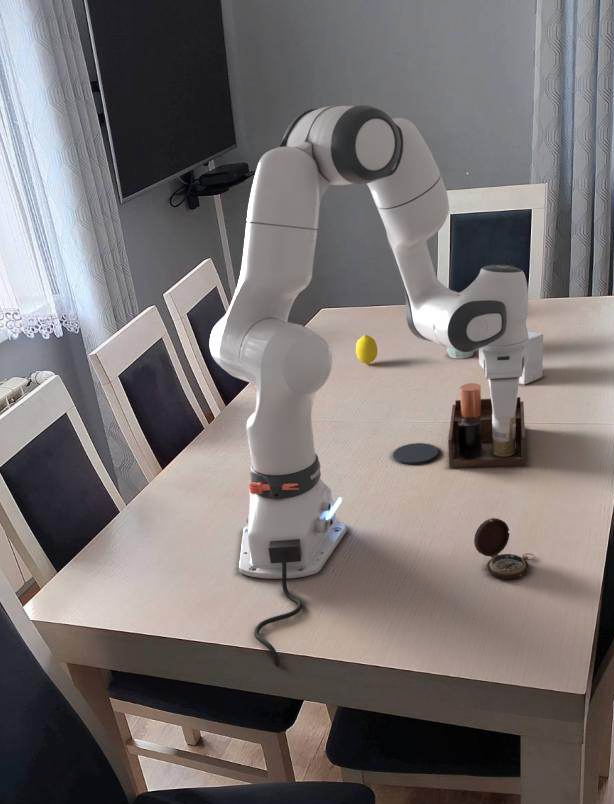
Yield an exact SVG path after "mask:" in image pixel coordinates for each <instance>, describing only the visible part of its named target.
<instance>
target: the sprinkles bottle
mask: <svg viewBox="0 0 614 804" xmlns="http://www.w3.org/2000/svg"><path fill="white" fill-rule="evenodd" d="M492 435H493V442H492V454H493V455H494V456H496V457H498V458H509V457H513V455H515V454H516V453H517V448H516V447H517V446H516V445H517V444H516V442H517V441H516V440H515V439H516V418H515V416H514V418H512V419H510V432H509V433H507V434H501V433H500V425H499V419H495V418H494V415H493V409H492Z"/></svg>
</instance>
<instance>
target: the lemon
mask: <svg viewBox="0 0 614 804" xmlns="http://www.w3.org/2000/svg"><path fill="white" fill-rule="evenodd" d="M355 355H356V358H357V359H358V361H360V362H361V363H363V364H365V365H366V366H369V365H370V364H371V363H372V362H374V361H375V360H376V358H377V355H378V346H377V342H376V340H375V339H374V338H373V337H372V336H369V335H367V334H364V335H363V336H361V337H360V338H359V339H357V341H356V344H355Z"/></svg>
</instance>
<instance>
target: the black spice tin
mask: <svg viewBox="0 0 614 804" xmlns="http://www.w3.org/2000/svg"><path fill="white" fill-rule="evenodd" d="M458 434H459V443H458V453H459V454H458V455H459V457H461V459H478V458H479V457H481V456H482V455H483V442H482V429H481V419H479V418H476V417H467V418H463V419H460V420H459V421H458Z"/></svg>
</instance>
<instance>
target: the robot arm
mask: <svg viewBox="0 0 614 804" xmlns="http://www.w3.org/2000/svg"><path fill="white" fill-rule="evenodd" d="M280 142H281V143H280V144H279V146H278V147H275V148H272V149H269V150H268V151H266V152H264V154H263V155H262V156H261V157H260V158H259V161H258V163H257V166H256V169H255V173H254V177H253V181H252V185H251V190H250V194H249V200H248V204H247V205H248V206H247V212H246V213H247V214H246V223H245V233H244V242H243V251H242V259H241V267H240V273H239V278H238V281H237V285H236V288H235V290H234V294H233V297H232V299H231V302H230V304H229V306H228V309H227V311H226V313H225V314H224V315H223V316H222V317H221V318H220V319H219V320H218V321H217V322H216V323H215V325H214V326H213V328H212V330H211V333H210V336H209V351H210V354H211V357H212V359H213V360H214V362H215V363H216V364H217V365H218V366H219V367H220V368H221V369H222V370H224V371H225V372H226V373H227V374H228V375H230V376H232V377H234V378H236V379H239V380H242V381H245V382H246V383H250V384H252V386H253V387H254V390H255V393H256V394H255V395H256V403H255V410H254V411H253V413H252V414H250V416H249V417H248V419H247V421H246V425H245V429H246V436H247V442H248V448H249V454H250V455H249V456H250V460H251V463H250V468H249V469H250V472H249V477H250V479H249V480H250V483H249V490H248V494H249V504H248V505H249V506H248V517H247V518H246V523H247V525H245V526H244V527H243V530H242V538H241V545H240V546H241V547H240V555H239V563H238V570H239V573H240V574H242V575H244V576H247V577H251V578H257V579H258V578H259V579H271V580H273V579H277V580H278V579H280V580H281V586H282V587H281V588H282V591H283V594H284V595H285V596H286V598H287V599H288V600H290V601H291V602H293V603H295V604H297V606H296V608H295V609H293V610H291V611H289V612H286V613H283V614H279V615H276V616H273V617H269V618H266V619H264V620H262V621H260V622H259V623H258V624H257V625H256V626H255V629H254V631H253V635H254V638H255V639H256V640H257V641H258V642H259V643H261V644H262V645H263V646H265V647H266V648H267V649H268V651H269V652H270V653H271V655H272V659H273V662H274V665H275V667H279V666H280V665H281V662H280V658H279V654H278V652H277V651H276V649H275V647H274V646H273V645H272V644H271V643H270V642H269V641H268V640H267V639H265V638H263V636H261V635H260V631H261V629H262V628H263V627H265V626H267V625H269V624H271V623H275V622H278V621H282V620H286V619H289V618H291V617H294V616H296V615H297V614H299V613H300V612H301V610H302V609H303V605H304V604H303V601H302V600H300V599H299V598H297V597H296V596H293V595H292V594H291V593H290V592H289V589H288V583H287V582H288V580H287V579H297V578H304V577H309V576H312V575H315V574H318V573H319V572H320V571H321V570H322V568H323V567H324V565H325V564H326V562H327V560H329V558H330V557H331V555H332V553H333V552H334V550H335V549H336V547H337V546H338V544H339V543H340V542H341V540H342V539H343V537H344V536H345V535H346V533H347V527H346V525H345V524H344V522H343V523H342V522H340V521H337V516H336V510H337V509H338V507H339V506H340V504H342V497H340V496H339V497H338V499H337V500H336V502H335V503H334V499H333V494H332V489H331V488H330V487H329V486H328V485H327V484H326V483H325V482H324V481H323V479H322V478H321V477H322V474H321V463H320V460H319V456H318V454H317V453H316V447H315V438H314V430H313V429H314V427H313V410H314V409H313V408H314V402H315V398H316V395H317V393H318V391H320V390H321V389H322V388H323V387H324V385H325V384H326V383H327V381H328V379H329V377H330V375H331V372H332V368H333V354H332V350H331V347H330V345H329V343H328V342H327V341H326V340H325V339H324V337H322V336H320V335H319V334H317V333H316V332H315V331H313V330H311V329H310V328H308V327H306V326H305V325H302V324H299V323H294V322H290V321H288V319H289V316H290V312H291V309H292V307H293V305H294V302H295V300H296V299H297V297H298V296H299V294H300V293H301V292H302V291H304V290H305V289H306V288H308V286H309V284H310V283H311V281H312V278H313V272H314V264H315V254H316V246H317V237H318V229H319V220H320V207H321V206H320V205H321V203H322V199H323V197H324V195H325V193H326V190H327V189H328V187H329V186H331V185H332V186H349V185H366V186H367V187H368V189H369V190H370V193H371V196H372V199H373V202H374V204H375V206H376V209H377V211H378V213H379V216H380V218H381V220H382V223H383V226H384V228H385V232H386V233H385V234H386V240H387V244H388V247H389V251H390V254H391V257H392V260H393V264H394V266H395V269H396V272H397V275H398V278H399V281H400V285H401V287H402V291H403V293H404V294H403V295H404V300H405V318H406V323H407V326H408V328H409V330H410V332H411V333H412V334H413V335H414V336H415V337H416V338H418V339H421V340H425V341H428V342H433V343H436V344H438V345H440V346H443V347H446V348H447V347H449V348H451V349H454V350H457V351H461V352H471V351H474V350H475V351H477V350H478V364H479V366H480V367H481V368H482V370H483V372H484V376H485V379H487V381H488V389H489V395H490V398H491V402H492V409H493V415H494V418H495V419H499V425H500V433H501V434H507V433H509V432H510V419H512V418H514V416H515V412H516V404H517V397H518V395H519V394H518V393H519V384H520V383H519V378H520V377H521V376H522V373H523V369H524V366H525V364H526V363H527V362H528V331H529V330H528V327H527V319H528V316H529V290H528V282H527V277H526V275H525V272H524V271H523V269H521V268H519V267H516V266H513V265H508V264H488V265H485V266H483V267H482V268H480V270H479V273H478V275H477V276H476V278H475V279H474V280H473V281H472V282H471V283H470V284H469V285H468V286H467V287H465V288H464V289H463V290H462V291H459V292H458V291H455V290H452V289H450V288H449V287H448V286H446V285H444V284H443V283H442V282H441V281H440V280H439V278H438V277H437V274H436V270H435V267H434V264H433V261H432V258H431V254H430V251H429V248H428V240H429V239H430V238H432V237H434V235H436V234H437V233H439V231H440V230H441V229H442V227H443V226H444V224H445V222H446V220H447V218H448V216H449V212H450V202H449V196H448V192H447V188H446V186H445V183H444V180H443V178H442V175H441V172H440V169H439V167H438V165H437V163H436V160H435V158H434V156H433V153H432V151H431V149H430V147H429V145H428V144H427V142H426V140H425V139H424V137H423V135H422V134H421V133H420V131H419V129H418V128H417V126H416V125H415V124H414V123H413V122H412V121H411V120H410V119H407V118H403V117H393V118H391V116H390V115H389V114H387V112H384V110H381V109H380V108H377V107H375V106H371V105H366V104H358V105H345V104H333V105H328V106H322V107H320V108H311V109H308V110H305V111H304V112H302V113H300V114H299V115H297V116H296V117H295V118H294V119H293V120H292V121H291V122H290V123H289V125H288V126H287V128H286V130H285V132H284V135H283V137H282V141H280ZM475 351H474V352H475ZM294 804H297V802H296V801H294Z"/></svg>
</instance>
